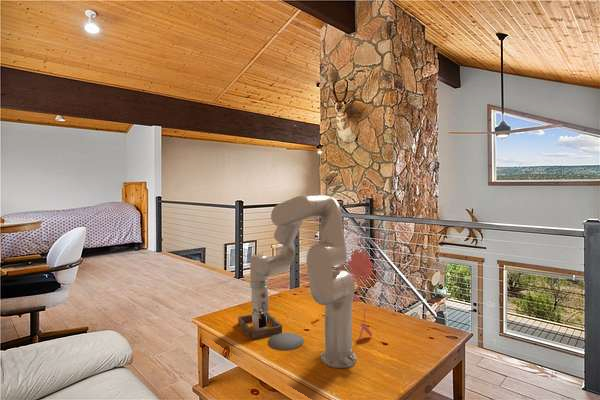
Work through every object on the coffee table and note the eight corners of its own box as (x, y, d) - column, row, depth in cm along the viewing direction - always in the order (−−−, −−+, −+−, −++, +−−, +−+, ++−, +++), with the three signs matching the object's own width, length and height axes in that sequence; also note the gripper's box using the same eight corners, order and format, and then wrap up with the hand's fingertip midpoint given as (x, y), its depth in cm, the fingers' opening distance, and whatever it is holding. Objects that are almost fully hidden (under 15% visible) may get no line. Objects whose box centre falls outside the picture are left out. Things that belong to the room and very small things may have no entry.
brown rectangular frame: (283, 333, 142) (283, 326, 142) (250, 340, 136) (250, 332, 135) (267, 317, 158) (267, 311, 158) (237, 323, 152) (237, 317, 152)
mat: (309, 345, 131) (309, 344, 131) (276, 353, 125) (276, 352, 125) (294, 331, 143) (294, 330, 143) (263, 338, 137) (263, 337, 137)
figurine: (375, 348, 128) (376, 256, 127) (326, 327, 147) (327, 247, 147) (397, 337, 138) (399, 252, 138) (349, 319, 158) (350, 244, 157)
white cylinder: (248, 329, 146) (248, 313, 145) (257, 323, 152) (257, 308, 151) (261, 332, 142) (261, 316, 142) (270, 326, 148) (270, 311, 148)
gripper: (274, 287, 140) (275, 329, 141) (260, 277, 156) (260, 315, 156) (257, 290, 137) (258, 333, 137) (244, 279, 152) (245, 318, 153)
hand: (259, 323), depth 147 cm, fingers closed on white cylinder, 6 cm apart
